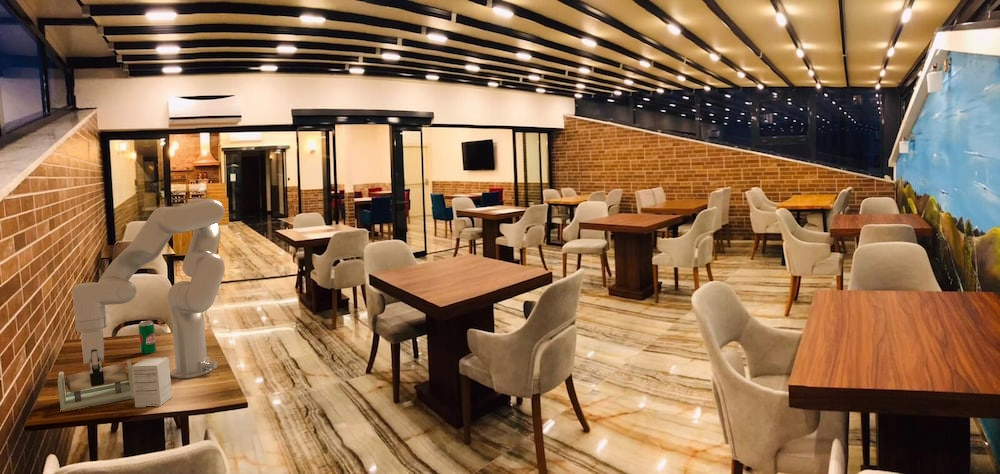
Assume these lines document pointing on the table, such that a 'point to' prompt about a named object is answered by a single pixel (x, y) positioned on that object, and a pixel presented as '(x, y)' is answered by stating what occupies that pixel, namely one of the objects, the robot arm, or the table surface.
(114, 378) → the shelf board
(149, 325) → the soda can
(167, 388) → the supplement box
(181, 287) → the robot arm
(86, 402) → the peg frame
